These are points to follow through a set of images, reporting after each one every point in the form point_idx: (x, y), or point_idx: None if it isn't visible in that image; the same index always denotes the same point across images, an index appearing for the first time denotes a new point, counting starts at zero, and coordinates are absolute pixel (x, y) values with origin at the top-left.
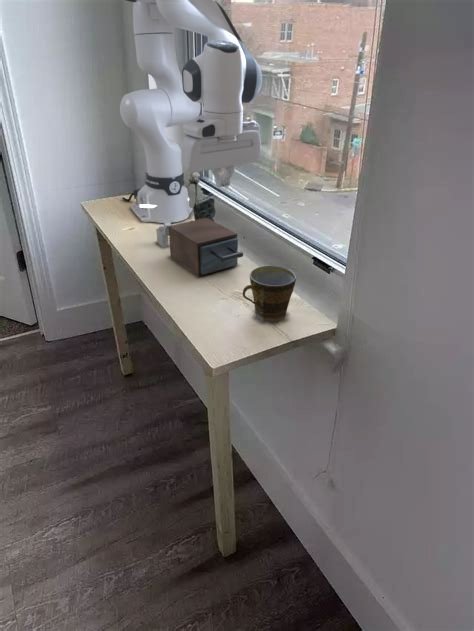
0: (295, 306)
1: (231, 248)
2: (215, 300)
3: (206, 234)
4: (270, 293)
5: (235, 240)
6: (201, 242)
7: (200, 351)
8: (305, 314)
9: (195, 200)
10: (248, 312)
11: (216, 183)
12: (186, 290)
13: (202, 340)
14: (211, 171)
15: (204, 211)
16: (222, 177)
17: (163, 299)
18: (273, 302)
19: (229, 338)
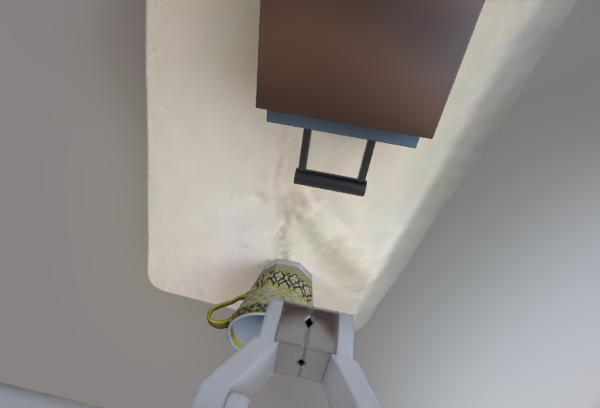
0: (341, 287)
1: (369, 148)
2: (244, 188)
3: (339, 60)
4: (245, 338)
5: (403, 145)
6: (272, 109)
7: (148, 262)
8: (332, 306)
9: None
10: (266, 250)
11: (267, 311)
12: (217, 115)
13: (161, 249)
14: (200, 382)
15: None
16: (312, 354)
17: (155, 112)
18: (257, 324)
19: (197, 269)
